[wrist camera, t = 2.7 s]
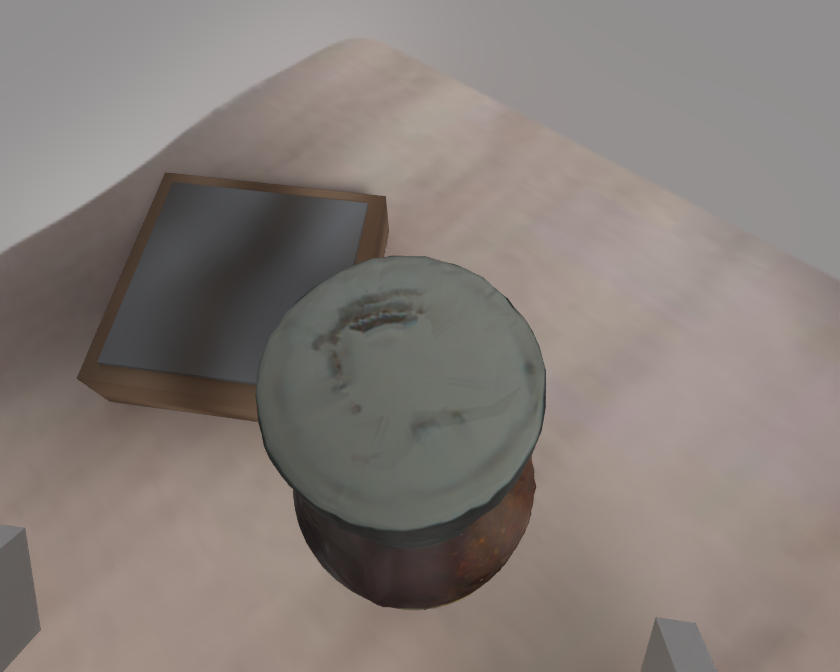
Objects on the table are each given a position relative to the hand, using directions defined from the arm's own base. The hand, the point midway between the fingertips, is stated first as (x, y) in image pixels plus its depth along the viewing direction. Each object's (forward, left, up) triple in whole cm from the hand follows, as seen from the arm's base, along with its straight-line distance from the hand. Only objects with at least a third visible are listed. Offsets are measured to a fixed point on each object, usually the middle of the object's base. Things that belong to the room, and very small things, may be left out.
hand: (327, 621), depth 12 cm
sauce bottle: (-1, -4, -14) cm, 14 cm away
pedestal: (+9, -14, -14) cm, 21 cm away
